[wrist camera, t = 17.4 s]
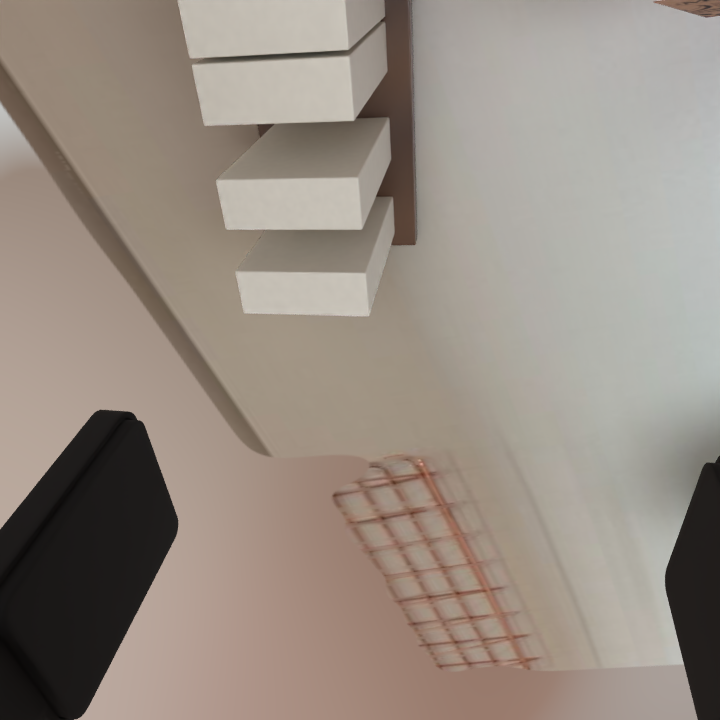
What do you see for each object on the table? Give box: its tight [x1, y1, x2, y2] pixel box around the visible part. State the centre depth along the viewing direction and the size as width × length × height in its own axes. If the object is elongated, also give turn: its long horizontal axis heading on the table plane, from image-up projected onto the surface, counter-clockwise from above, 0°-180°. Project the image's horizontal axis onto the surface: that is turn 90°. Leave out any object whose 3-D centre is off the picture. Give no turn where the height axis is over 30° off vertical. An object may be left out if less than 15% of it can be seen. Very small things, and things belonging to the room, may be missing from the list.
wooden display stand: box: [177, 0, 417, 317], centre depth 31 cm, size 16×9×11 cm, turn 4°
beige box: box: [216, 117, 391, 230], centre depth 31 cm, size 2×6×10 cm, turn 94°
